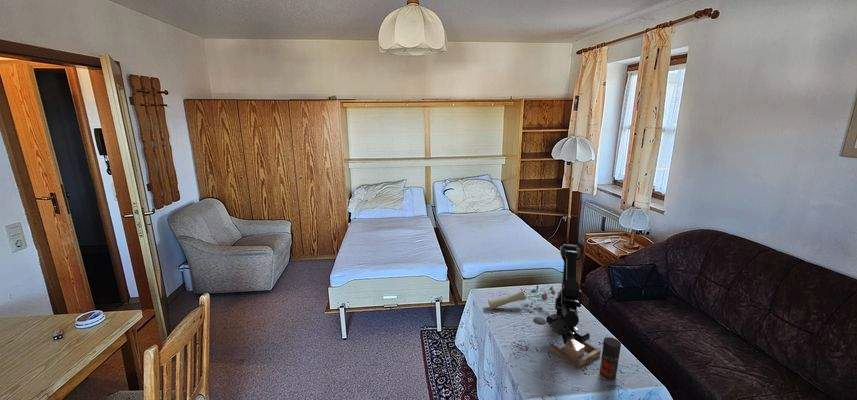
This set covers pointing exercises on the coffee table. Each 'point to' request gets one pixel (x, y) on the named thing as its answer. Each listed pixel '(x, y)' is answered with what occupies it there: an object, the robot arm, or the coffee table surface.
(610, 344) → the deodorant
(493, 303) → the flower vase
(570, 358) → the bay
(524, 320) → the coffee table surface
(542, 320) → the pad
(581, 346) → the terracotta block
